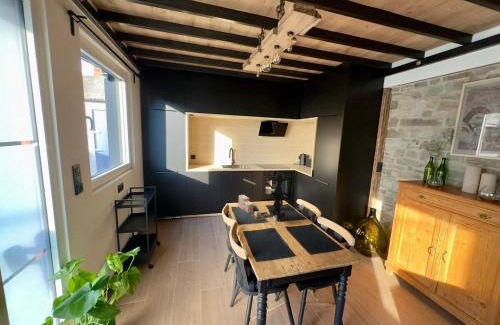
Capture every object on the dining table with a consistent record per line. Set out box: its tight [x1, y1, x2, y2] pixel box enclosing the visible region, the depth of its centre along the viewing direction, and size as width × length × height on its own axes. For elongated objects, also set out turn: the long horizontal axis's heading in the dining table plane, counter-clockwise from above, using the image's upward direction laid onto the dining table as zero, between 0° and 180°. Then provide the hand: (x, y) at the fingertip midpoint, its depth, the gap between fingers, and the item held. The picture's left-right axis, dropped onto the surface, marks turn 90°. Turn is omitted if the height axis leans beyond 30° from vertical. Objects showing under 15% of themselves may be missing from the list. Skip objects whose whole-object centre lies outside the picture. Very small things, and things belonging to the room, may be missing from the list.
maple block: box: [253, 210, 262, 217], centre depth 186 cm, size 4×4×4 cm
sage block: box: [272, 215, 281, 222], centre depth 181 cm, size 4×4×4 cm
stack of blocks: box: [238, 194, 255, 214], centre depth 203 cm, size 21×6×12 cm, turn 29°
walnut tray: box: [251, 211, 273, 221], centre depth 189 cm, size 22×11×2 cm, turn 116°
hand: (276, 219), depth 181 cm, fingers open, 5 cm apart
